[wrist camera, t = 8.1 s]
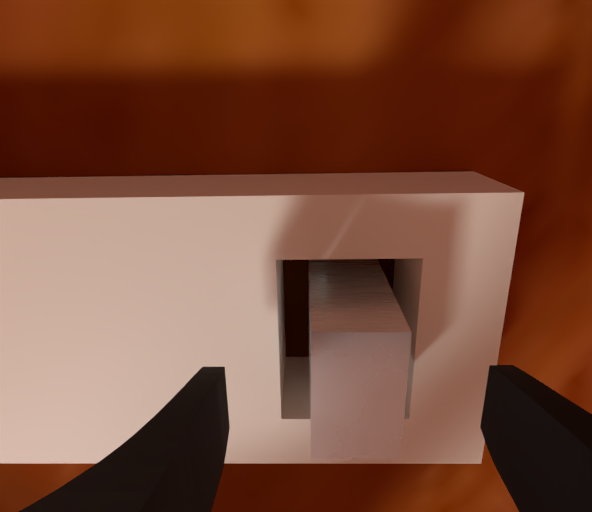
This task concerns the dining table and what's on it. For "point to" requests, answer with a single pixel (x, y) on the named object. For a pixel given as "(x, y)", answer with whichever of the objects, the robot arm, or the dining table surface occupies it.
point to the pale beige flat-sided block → (238, 303)
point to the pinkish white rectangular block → (355, 361)
